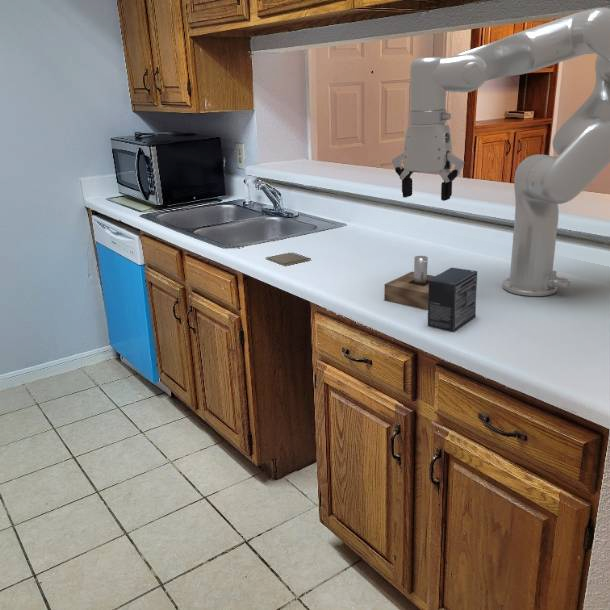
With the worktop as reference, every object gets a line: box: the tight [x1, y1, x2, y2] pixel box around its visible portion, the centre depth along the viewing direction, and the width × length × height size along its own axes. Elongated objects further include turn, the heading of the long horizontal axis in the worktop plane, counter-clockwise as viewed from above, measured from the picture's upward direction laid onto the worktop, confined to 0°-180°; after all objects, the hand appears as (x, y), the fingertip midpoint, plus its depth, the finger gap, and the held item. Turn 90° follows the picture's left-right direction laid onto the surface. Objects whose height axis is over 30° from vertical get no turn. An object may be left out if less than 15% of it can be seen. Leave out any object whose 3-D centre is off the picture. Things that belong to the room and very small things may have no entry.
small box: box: [427, 267, 478, 333], centre depth 127 cm, size 11×6×10 cm, turn 141°
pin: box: [413, 255, 429, 286], centre depth 141 cm, size 3×3×10 cm
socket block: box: [383, 271, 436, 311], centre depth 142 cm, size 12×12×4 cm
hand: (426, 198), depth 136 cm, fingers open, 9 cm apart
